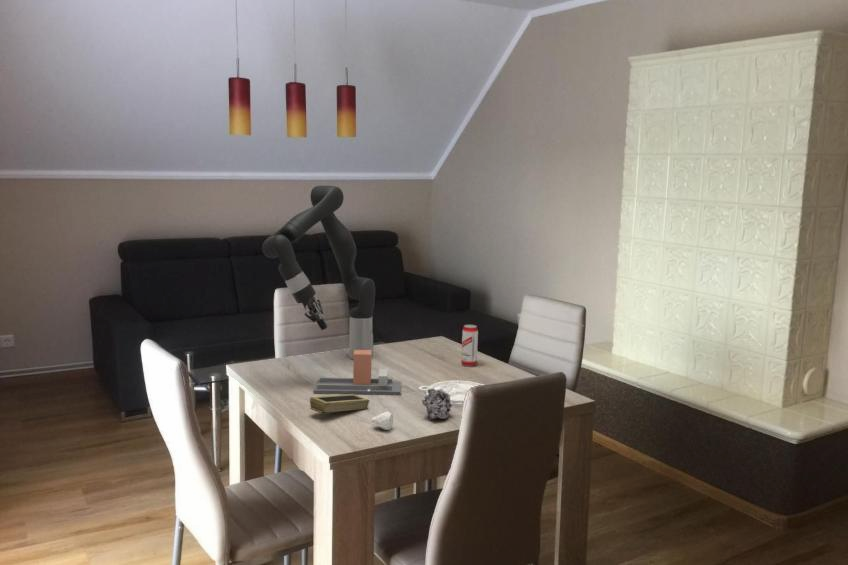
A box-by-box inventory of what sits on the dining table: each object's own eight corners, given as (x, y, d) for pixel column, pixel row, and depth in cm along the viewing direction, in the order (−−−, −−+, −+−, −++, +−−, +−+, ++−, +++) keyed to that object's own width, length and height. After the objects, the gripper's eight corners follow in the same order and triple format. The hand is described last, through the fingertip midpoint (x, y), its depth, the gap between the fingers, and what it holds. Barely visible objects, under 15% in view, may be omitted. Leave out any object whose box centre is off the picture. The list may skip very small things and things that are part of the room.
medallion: (483, 412, 237) (483, 405, 236) (406, 400, 246) (406, 394, 245) (501, 391, 258) (501, 385, 258) (430, 381, 268) (430, 375, 267)
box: (306, 412, 227) (309, 396, 227) (358, 407, 244) (360, 392, 244) (324, 419, 222) (326, 403, 222) (375, 413, 239) (377, 398, 239)
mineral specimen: (426, 394, 240) (433, 373, 232) (454, 406, 238) (461, 386, 231) (411, 422, 230) (417, 402, 223) (439, 436, 229) (446, 416, 221)
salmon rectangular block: (353, 387, 252) (353, 354, 250) (354, 382, 258) (354, 349, 256) (370, 387, 252) (370, 354, 250) (371, 382, 258) (371, 350, 256)
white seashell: (375, 424, 222) (375, 407, 221) (393, 426, 220) (394, 409, 219) (368, 430, 217) (369, 413, 216) (387, 433, 215) (388, 415, 214)
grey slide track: (313, 393, 249) (313, 376, 248) (317, 383, 261) (317, 366, 260) (400, 395, 250) (400, 377, 249) (400, 384, 262) (400, 368, 261)
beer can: (468, 361, 294) (469, 323, 291) (480, 365, 290) (481, 326, 287) (457, 364, 290) (459, 325, 287) (469, 368, 285) (471, 328, 283)
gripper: (304, 288, 246) (329, 331, 250) (313, 276, 258) (337, 317, 262) (286, 297, 248) (311, 339, 252) (296, 285, 260) (320, 325, 264)
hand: (324, 328), depth 257 cm, fingers closed
